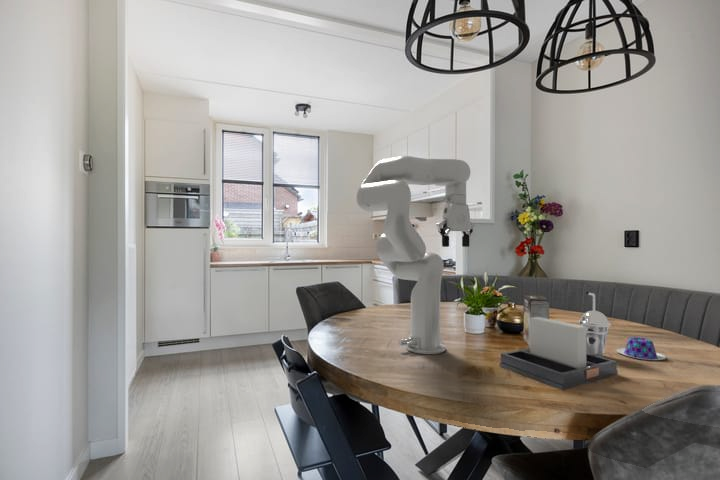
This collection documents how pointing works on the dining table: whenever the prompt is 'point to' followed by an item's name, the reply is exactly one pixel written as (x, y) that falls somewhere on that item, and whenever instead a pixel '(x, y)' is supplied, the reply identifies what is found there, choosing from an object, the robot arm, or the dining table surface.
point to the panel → (558, 341)
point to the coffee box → (534, 312)
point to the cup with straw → (595, 330)
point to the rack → (557, 369)
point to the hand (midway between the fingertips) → (455, 246)
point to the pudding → (640, 349)
